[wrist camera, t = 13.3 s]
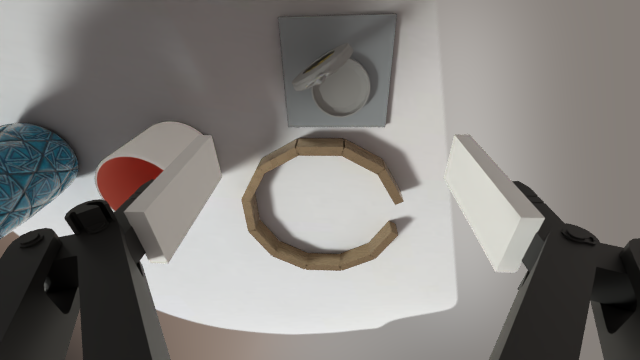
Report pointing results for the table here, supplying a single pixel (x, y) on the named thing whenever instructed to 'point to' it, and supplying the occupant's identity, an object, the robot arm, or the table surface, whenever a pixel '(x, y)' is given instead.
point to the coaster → (368, 50)
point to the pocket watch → (336, 82)
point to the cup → (141, 160)
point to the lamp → (31, 171)
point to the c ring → (320, 259)
